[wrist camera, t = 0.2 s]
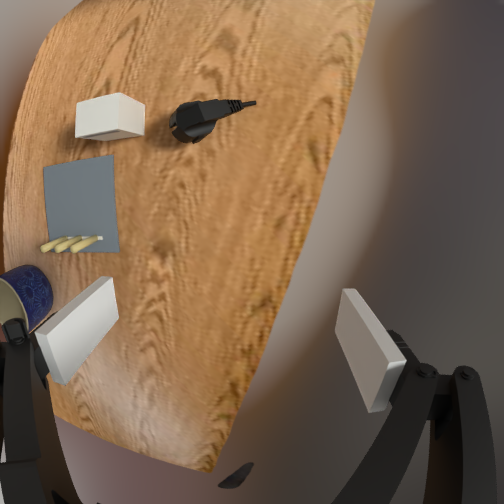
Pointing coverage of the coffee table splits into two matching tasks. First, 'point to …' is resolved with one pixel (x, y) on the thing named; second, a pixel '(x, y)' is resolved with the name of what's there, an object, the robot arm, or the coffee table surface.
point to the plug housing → (110, 118)
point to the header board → (81, 206)
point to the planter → (25, 295)
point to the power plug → (202, 117)
